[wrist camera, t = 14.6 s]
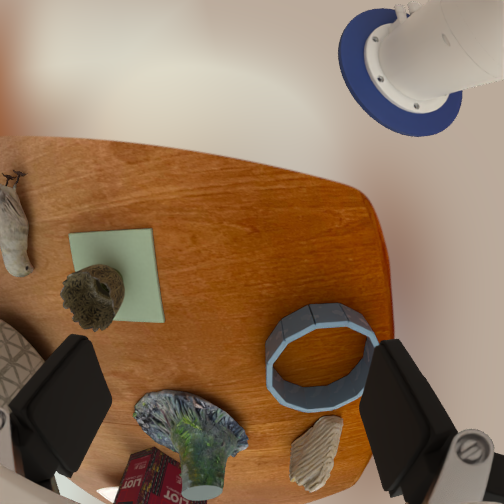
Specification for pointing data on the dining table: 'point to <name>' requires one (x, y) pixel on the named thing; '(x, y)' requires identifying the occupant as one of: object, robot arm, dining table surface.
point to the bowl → (109, 493)
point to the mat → (125, 268)
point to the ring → (301, 325)
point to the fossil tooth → (315, 453)
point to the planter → (15, 363)
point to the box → (152, 480)
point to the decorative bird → (13, 231)
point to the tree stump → (192, 438)
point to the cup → (94, 295)
